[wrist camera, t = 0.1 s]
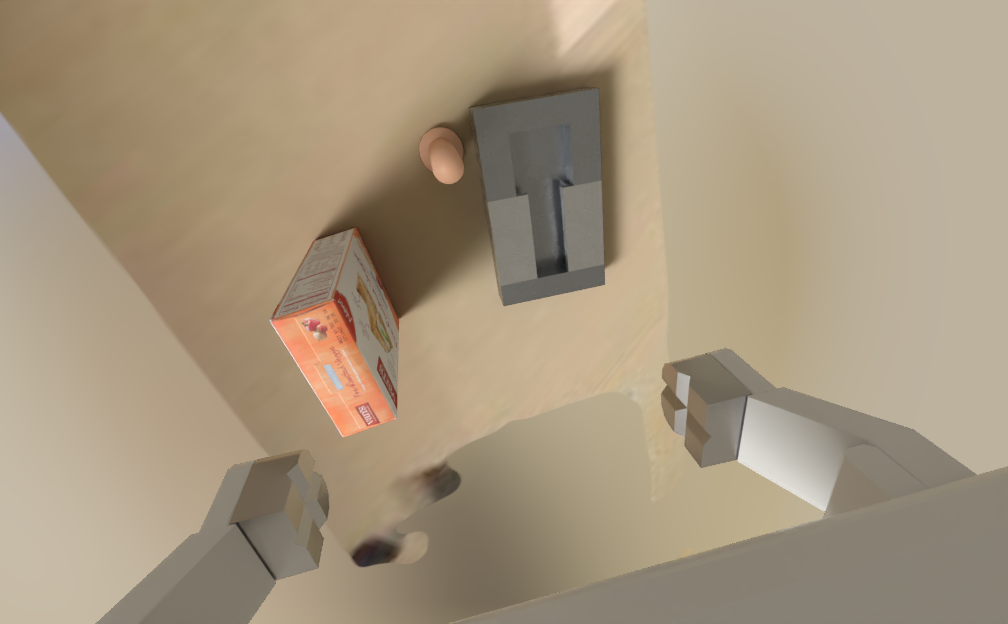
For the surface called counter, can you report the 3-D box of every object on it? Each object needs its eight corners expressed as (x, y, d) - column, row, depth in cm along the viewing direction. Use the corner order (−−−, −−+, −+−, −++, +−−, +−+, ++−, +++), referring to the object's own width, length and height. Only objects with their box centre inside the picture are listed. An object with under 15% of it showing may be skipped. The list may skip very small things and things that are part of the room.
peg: (414, 131, 51) (416, 145, 42) (458, 123, 52) (469, 135, 42) (424, 175, 54) (428, 198, 44) (466, 168, 54) (478, 189, 44)
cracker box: (402, 318, 62) (399, 421, 44) (360, 332, 62) (339, 442, 43) (359, 223, 55) (335, 299, 37) (311, 238, 55) (263, 323, 36)
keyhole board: (468, 107, 51) (472, 109, 48) (587, 87, 52) (598, 88, 49) (499, 294, 63) (503, 306, 60) (595, 274, 64) (605, 284, 61)
